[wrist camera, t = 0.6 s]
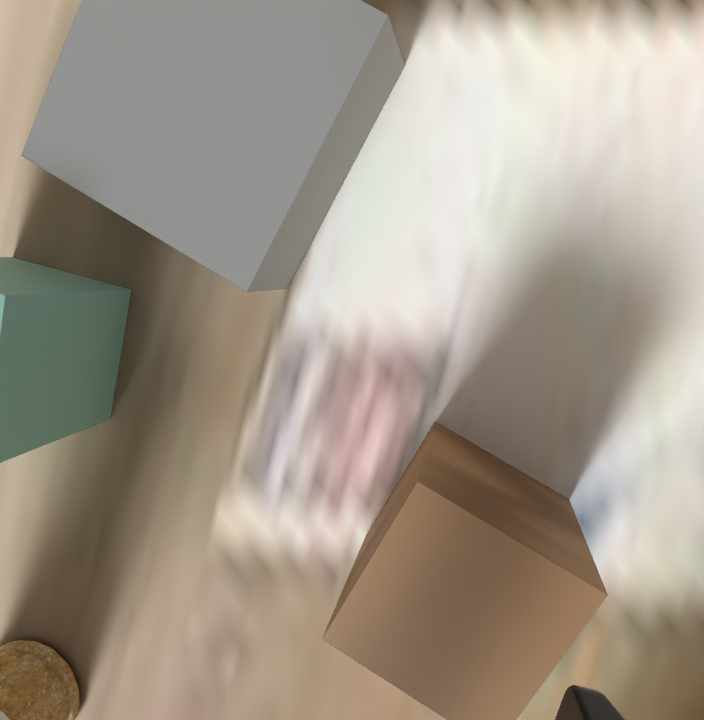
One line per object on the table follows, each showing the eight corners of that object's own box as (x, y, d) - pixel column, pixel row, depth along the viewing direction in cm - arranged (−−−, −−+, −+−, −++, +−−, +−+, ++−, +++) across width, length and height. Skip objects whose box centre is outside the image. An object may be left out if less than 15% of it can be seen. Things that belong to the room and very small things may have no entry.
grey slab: (406, 68, 19) (388, 15, 15) (289, 288, 21) (246, 292, 17) (197, -45, 20) (129, -123, 16) (103, 176, 21) (21, 155, 18)
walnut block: (568, 499, 19) (607, 595, 14) (489, 615, 21) (494, 749, 15) (435, 421, 20) (417, 481, 14) (364, 538, 21) (321, 639, 15)
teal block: (132, 289, 22) (5, 295, 16) (111, 418, 23) (-17, 468, 17) (13, 257, 22) (-149, 252, 17) (-2, 383, 23) (-161, 419, 18)
